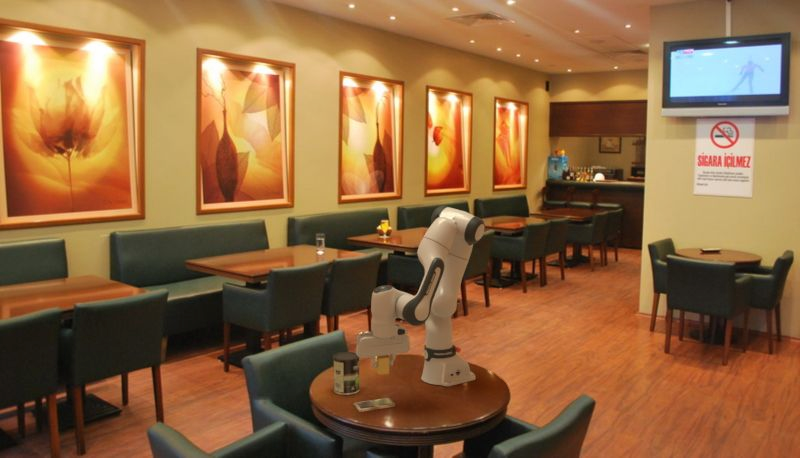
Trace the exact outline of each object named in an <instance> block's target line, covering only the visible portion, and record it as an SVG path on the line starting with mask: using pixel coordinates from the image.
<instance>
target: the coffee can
mask: <svg viewBox="0 0 800 458" xmlns="http://www.w3.org/2000/svg"><path fill="white" fill-rule="evenodd" d="M332 359H333V392H334V393H335V394H337V395H339V396H350V395H355V394H358V393H359V392H360V358H359V357H358V356H357V355H356V352H354V351H353V352H352V351H342V352H337V353H335V354H334V355H332Z"/></svg>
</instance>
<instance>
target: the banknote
mask: <svg viewBox="0 0 800 458" xmlns="http://www.w3.org/2000/svg"><path fill="white" fill-rule="evenodd" d="M352 405H353V406H354V408H355V409H356V410H357V411H358V413H362V412H368V411H374V410H375V411H376V410H383V409H387V408H388V409H389V408H394V407H396V403H395V402H394V401H393V400H392V399H391V398H390V397H384V398H378V399H377V398H376V399H371V400H365V401H364V400H363V401H359V402H358V401H357V402H353V404H352Z"/></svg>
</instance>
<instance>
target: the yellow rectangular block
mask: <svg viewBox="0 0 800 458" xmlns="http://www.w3.org/2000/svg"><path fill="white" fill-rule="evenodd" d="M389 360H390V357H389V355H383V356H376V362H377V363H378V367H377V368H376V372H377V374H378V375H389V374H390V366H389Z"/></svg>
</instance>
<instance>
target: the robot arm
mask: <svg viewBox="0 0 800 458" xmlns="http://www.w3.org/2000/svg"><path fill="white" fill-rule="evenodd" d="M430 219H431V221H430V222H431V225H430V226H429V227H428V229H427V230H426V231H425V234H424V236H423V237H422V239H421V241H420V243H419V245H418V247H417V248H418V249H417V252H416V253H417V254H416V255H417V257H418V260H419V262H420V263H421V265H422V266H423V269H424V276H423V277H422V281H421V282H420V286H419V289H418V290H417V293H416V294H415V295H413V294H411V293H408V292H405V291H402V290H398V289H396V288H395V287H394V286H392V285H390V284H389V285H386V284H385V285H380V286H377V287H375V288H374V290H373V291H372V293H371V300H370V301H371V304H370V306H371V307H370V312H371V320H370V330H369V331H361V332H359V333H358V334H357V335H356V337H355V342H356V347H355V353H356V355H357V356H358V357H359V359H364V358H366V359H367V358H369V359H370V360H371V362H372V367H373V369H377V367H378V363H377V361H375V360H376V357H377V356H383V355H388V356H389V355H390V357H389V367H392V366H394V361H395V359H396V357H397V354H407V353H409V352H410V349H411V345H410V337H409V335H408V332H409V330H408V328H406V327H405V326H404V325H401V324H398V323H396V319H401V320H403V321H405V322H407V323H408V324H409V325H411V326H415V327H418V326H421V325H423V324H425V339H424V340H425V344H424V348H423V357H424V364H423V368H422V369H423V370H422V375H421V377H420V380H421V381H423V382H424V383H426V384H429V385H437V386H443V387H452V386H456V385H461V384H464V383H467V382H473V381H476V375H475V373H474V372H473V371H471V368H470V365H469V362H468V361H467V360H466V359H464V358H463V357H461V356H460V355H459V354H457V353H461V347H459V346H456V345H454V344H453V331H454V330H453V322H452V315H454V314H455V312H456V311H457V307H458V306H457V305H458V298H459V293H460V291H461V284H462V280H463V277H464V274H465V271H466V268H467V267H468V266H467V265H468V263H469V262H470V261H469V260H470V257H471V254H472V252H473V246H474V244H476V243H478V242H479V241H481V240H482V238H483V237H484V234H485V231H486V224H485V222H484V220H483V219H482V218H481V217H478V216H476V215H474V214H471V213H470V212H468V211H465V210H460V209H457V208H453V207H450V206H449V205H439V206H438V207H436V208H434V211H433V213H432V215H431V218H430Z"/></svg>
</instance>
